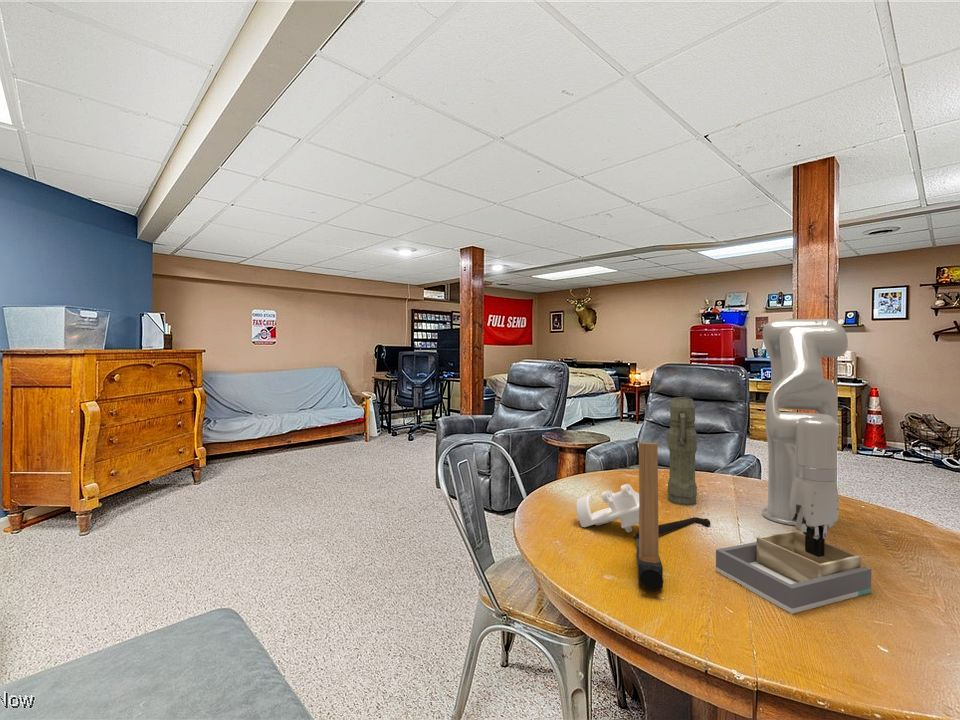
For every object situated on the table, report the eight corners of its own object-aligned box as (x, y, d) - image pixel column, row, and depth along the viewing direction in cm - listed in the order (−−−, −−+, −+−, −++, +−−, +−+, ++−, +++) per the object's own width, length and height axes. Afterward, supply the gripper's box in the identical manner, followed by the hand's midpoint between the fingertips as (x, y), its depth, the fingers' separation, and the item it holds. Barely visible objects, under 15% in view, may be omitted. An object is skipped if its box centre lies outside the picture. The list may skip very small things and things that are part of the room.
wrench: (712, 533, 131) (648, 552, 114) (695, 528, 135) (631, 546, 118) (712, 514, 131) (648, 531, 114) (695, 510, 135) (631, 525, 119)
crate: (793, 553, 110) (793, 530, 110) (860, 583, 96) (860, 556, 96) (756, 561, 106) (756, 537, 106) (820, 593, 92) (821, 565, 92)
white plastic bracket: (588, 548, 128) (569, 503, 131) (603, 534, 137) (584, 493, 140) (653, 530, 117) (630, 482, 121) (664, 517, 127) (643, 472, 130)
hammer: (636, 563, 113) (635, 441, 118) (657, 566, 111) (656, 442, 116) (638, 589, 94) (638, 442, 99) (664, 592, 92) (662, 443, 97)
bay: (787, 555, 112) (788, 535, 112) (870, 592, 95) (871, 569, 95) (715, 570, 104) (715, 549, 104) (791, 613, 87) (792, 588, 87)
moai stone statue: (693, 496, 157) (694, 396, 156) (699, 508, 146) (700, 399, 145) (666, 494, 159) (666, 395, 159) (669, 505, 148) (670, 399, 147)
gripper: (821, 466, 108) (820, 542, 108) (775, 472, 103) (774, 552, 103) (856, 474, 101) (855, 556, 101) (809, 481, 96) (808, 566, 96)
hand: (814, 553), depth 102 cm, fingers closed
